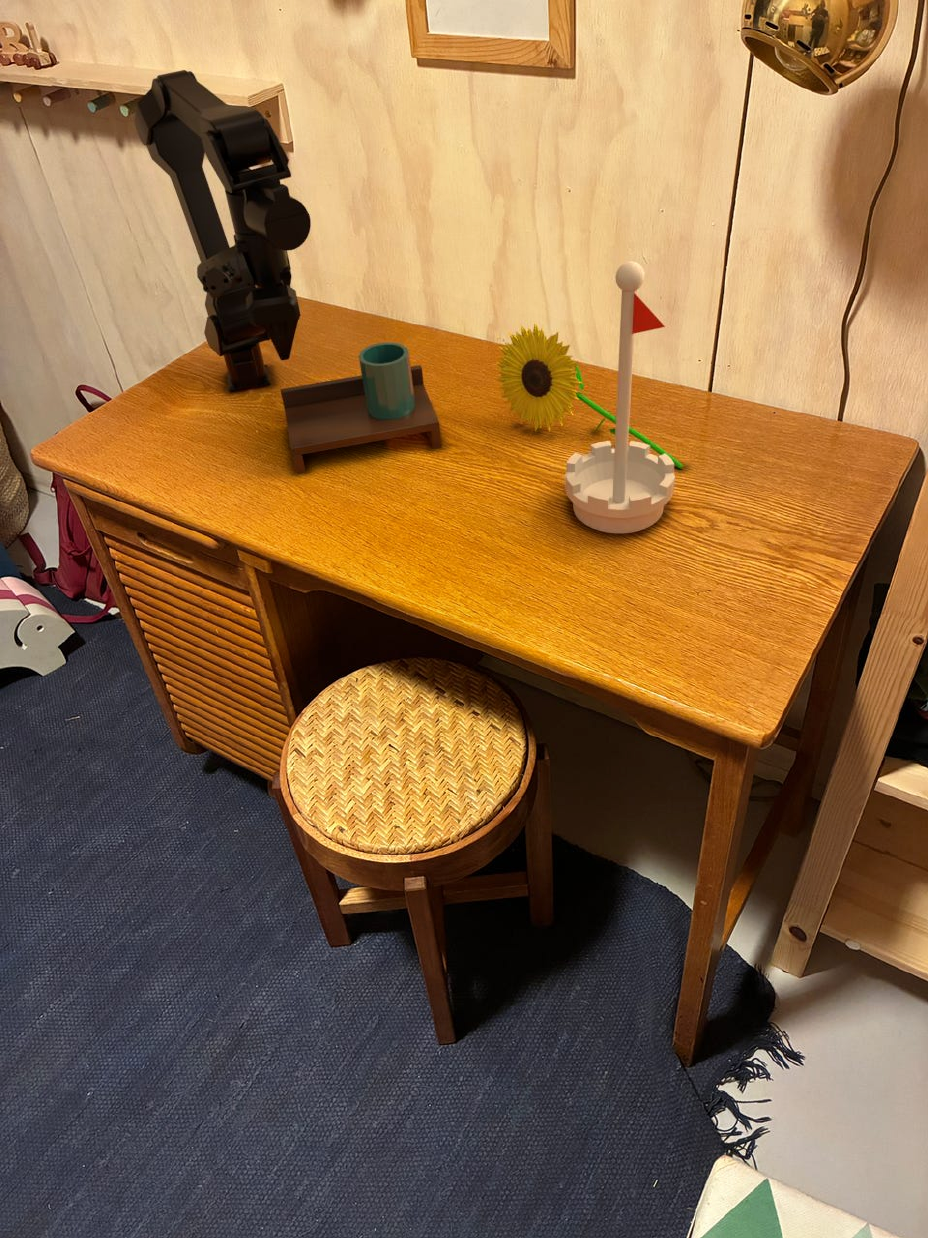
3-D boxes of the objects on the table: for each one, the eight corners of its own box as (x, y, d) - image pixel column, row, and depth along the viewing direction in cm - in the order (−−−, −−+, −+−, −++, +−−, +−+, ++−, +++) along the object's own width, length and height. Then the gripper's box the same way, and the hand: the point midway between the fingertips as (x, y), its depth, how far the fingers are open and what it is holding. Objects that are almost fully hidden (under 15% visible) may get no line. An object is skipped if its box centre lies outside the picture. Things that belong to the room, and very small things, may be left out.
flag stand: (543, 504, 114) (538, 264, 94) (618, 464, 119) (630, 228, 99) (617, 552, 106) (630, 301, 86) (695, 507, 111) (724, 260, 91)
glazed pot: (364, 400, 128) (355, 346, 123) (410, 392, 129) (403, 338, 124) (371, 423, 124) (362, 368, 118) (418, 414, 124) (412, 360, 119)
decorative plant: (714, 417, 113) (533, 295, 123) (692, 430, 110) (507, 303, 119) (664, 506, 123) (501, 387, 133) (642, 521, 120) (475, 397, 129)
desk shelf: (289, 429, 132) (280, 388, 128) (425, 405, 134) (420, 364, 130) (296, 474, 123) (286, 431, 119) (441, 447, 125) (437, 404, 121)
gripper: (191, 210, 119) (220, 324, 130) (191, 264, 105) (224, 386, 116) (276, 198, 120) (299, 311, 131) (287, 250, 107) (311, 372, 117)
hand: (282, 343), depth 124 cm, fingers open, 9 cm apart
